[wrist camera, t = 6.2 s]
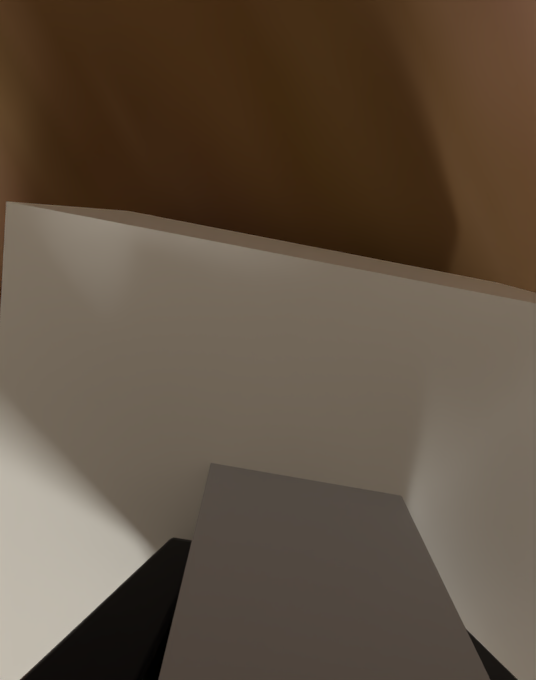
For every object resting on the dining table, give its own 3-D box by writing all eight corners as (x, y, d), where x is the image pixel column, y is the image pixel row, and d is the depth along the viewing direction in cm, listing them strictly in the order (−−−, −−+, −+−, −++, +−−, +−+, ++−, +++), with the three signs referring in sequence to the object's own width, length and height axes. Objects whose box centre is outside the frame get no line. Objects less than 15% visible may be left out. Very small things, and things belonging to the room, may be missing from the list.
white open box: (402, 588, 16) (631, 1216, 6) (91, 537, 15) (-238, 1123, 5) (496, 282, 13) (1170, 460, 3) (129, 210, 13) (-350, 172, 3)
